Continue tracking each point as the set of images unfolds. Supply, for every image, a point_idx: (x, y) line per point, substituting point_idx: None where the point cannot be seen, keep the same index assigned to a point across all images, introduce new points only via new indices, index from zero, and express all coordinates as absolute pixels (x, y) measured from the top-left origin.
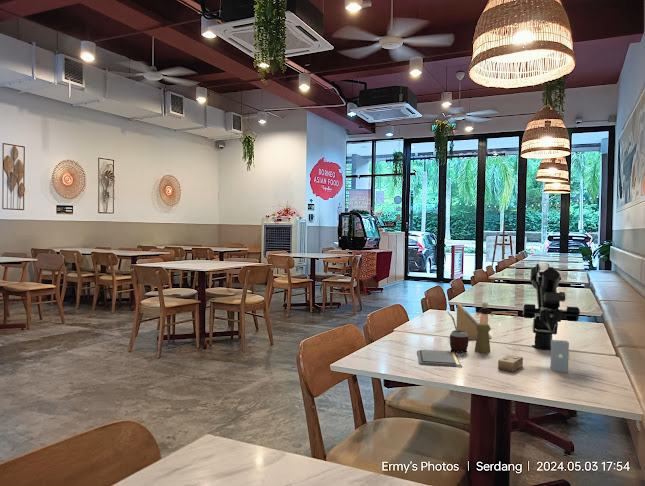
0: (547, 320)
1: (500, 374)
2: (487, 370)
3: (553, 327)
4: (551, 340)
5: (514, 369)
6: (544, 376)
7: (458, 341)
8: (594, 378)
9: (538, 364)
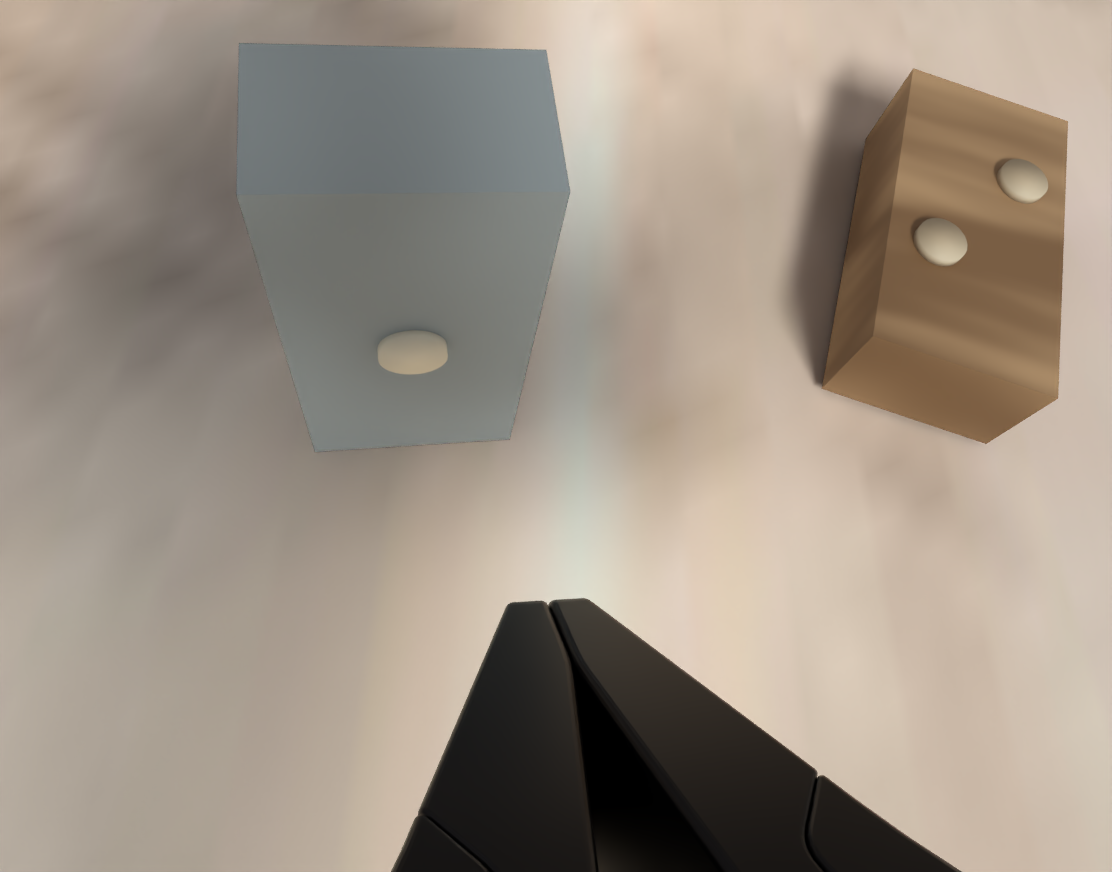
0: (884, 821)
1: (939, 64)
2: None
3: (525, 644)
4: (563, 168)
5: (866, 160)
6: (582, 116)
7: None
8: (54, 201)
9: (652, 570)
